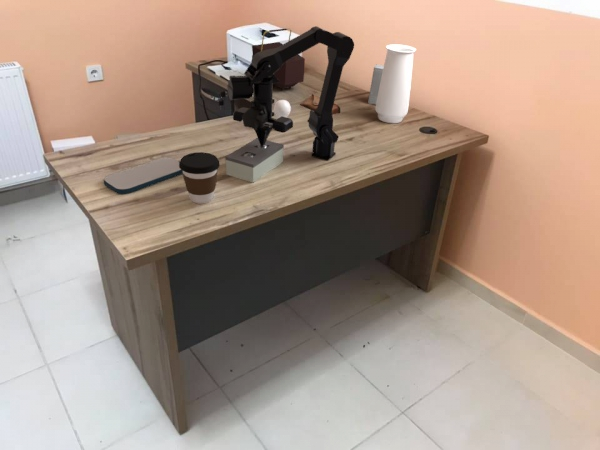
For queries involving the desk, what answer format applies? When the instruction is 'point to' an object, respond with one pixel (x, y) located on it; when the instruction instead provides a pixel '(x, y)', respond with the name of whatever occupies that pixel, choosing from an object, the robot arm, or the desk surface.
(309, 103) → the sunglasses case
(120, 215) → the desk surface
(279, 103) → the lightbulb
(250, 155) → the outer peg
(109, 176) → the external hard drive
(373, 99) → the skincare box
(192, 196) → the coffee cup
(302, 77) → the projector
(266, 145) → the inner peg
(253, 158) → the press block
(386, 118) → the vase
